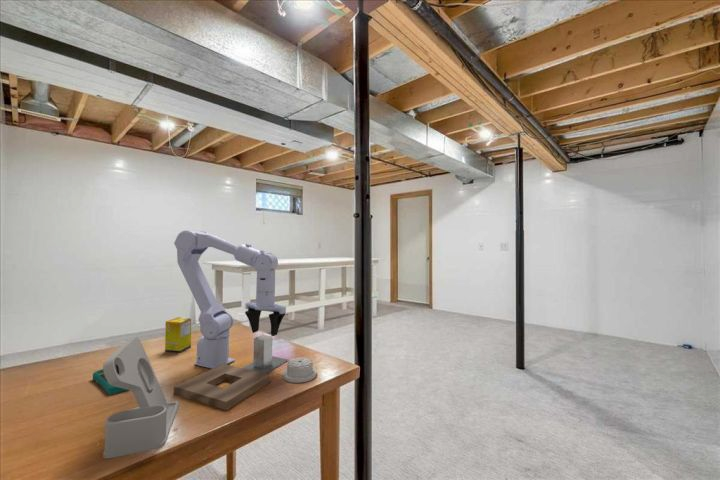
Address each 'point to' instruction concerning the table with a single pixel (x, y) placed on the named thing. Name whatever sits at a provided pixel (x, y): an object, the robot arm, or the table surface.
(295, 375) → the mechanical component
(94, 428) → the table surface
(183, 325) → the supplement box
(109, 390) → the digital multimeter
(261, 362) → the alloy block
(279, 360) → the rubber mat
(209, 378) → the pocket board
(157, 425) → the phone holder
